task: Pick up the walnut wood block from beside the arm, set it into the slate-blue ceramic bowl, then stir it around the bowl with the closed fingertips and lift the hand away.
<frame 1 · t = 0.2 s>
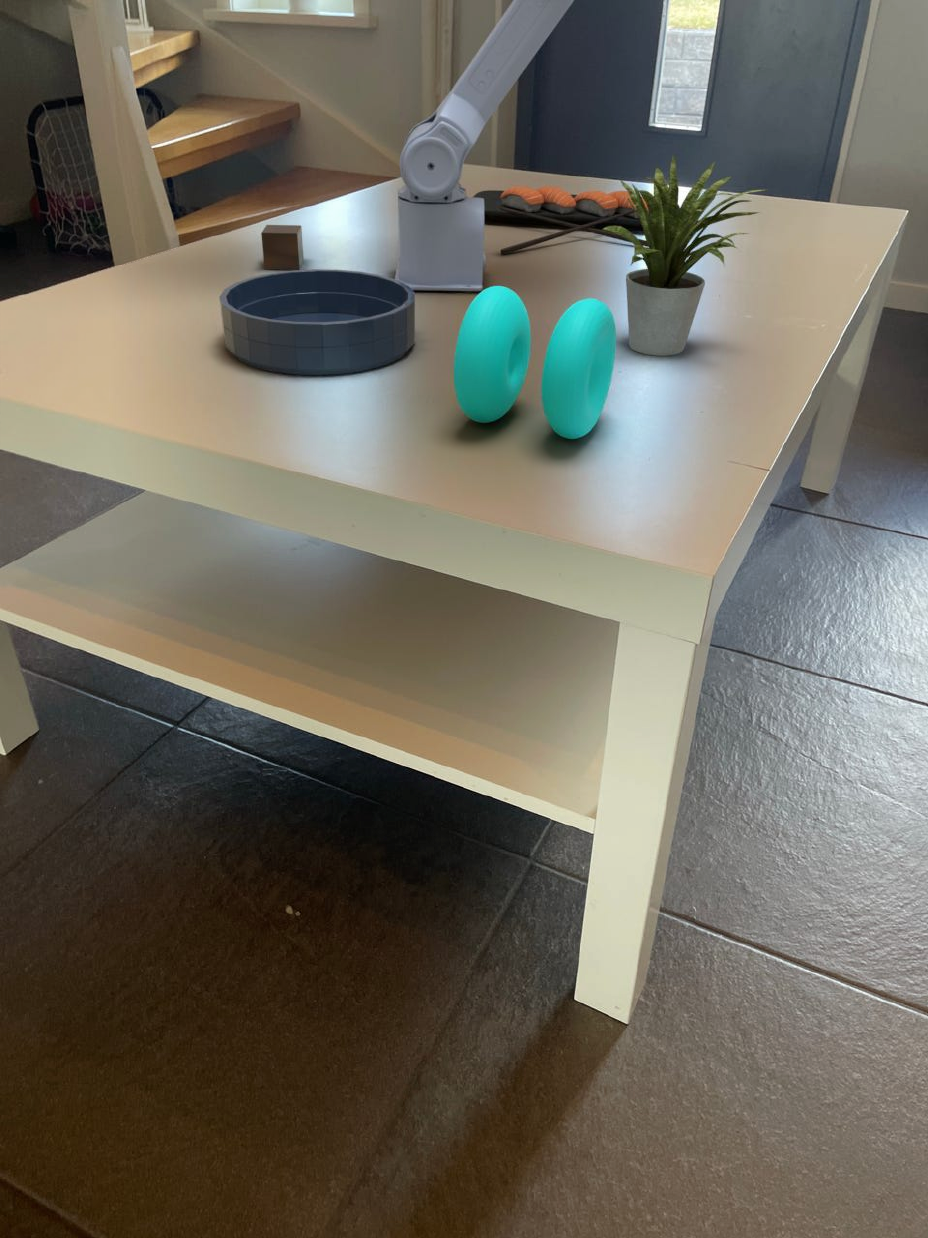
block: (284, 265, 113), on the table
sushi plate: (568, 232, 130), on the table
house plant: (656, 353, 91), on the table
bowl: (321, 343, 90), on the table
donuts: (531, 428, 75), on the table
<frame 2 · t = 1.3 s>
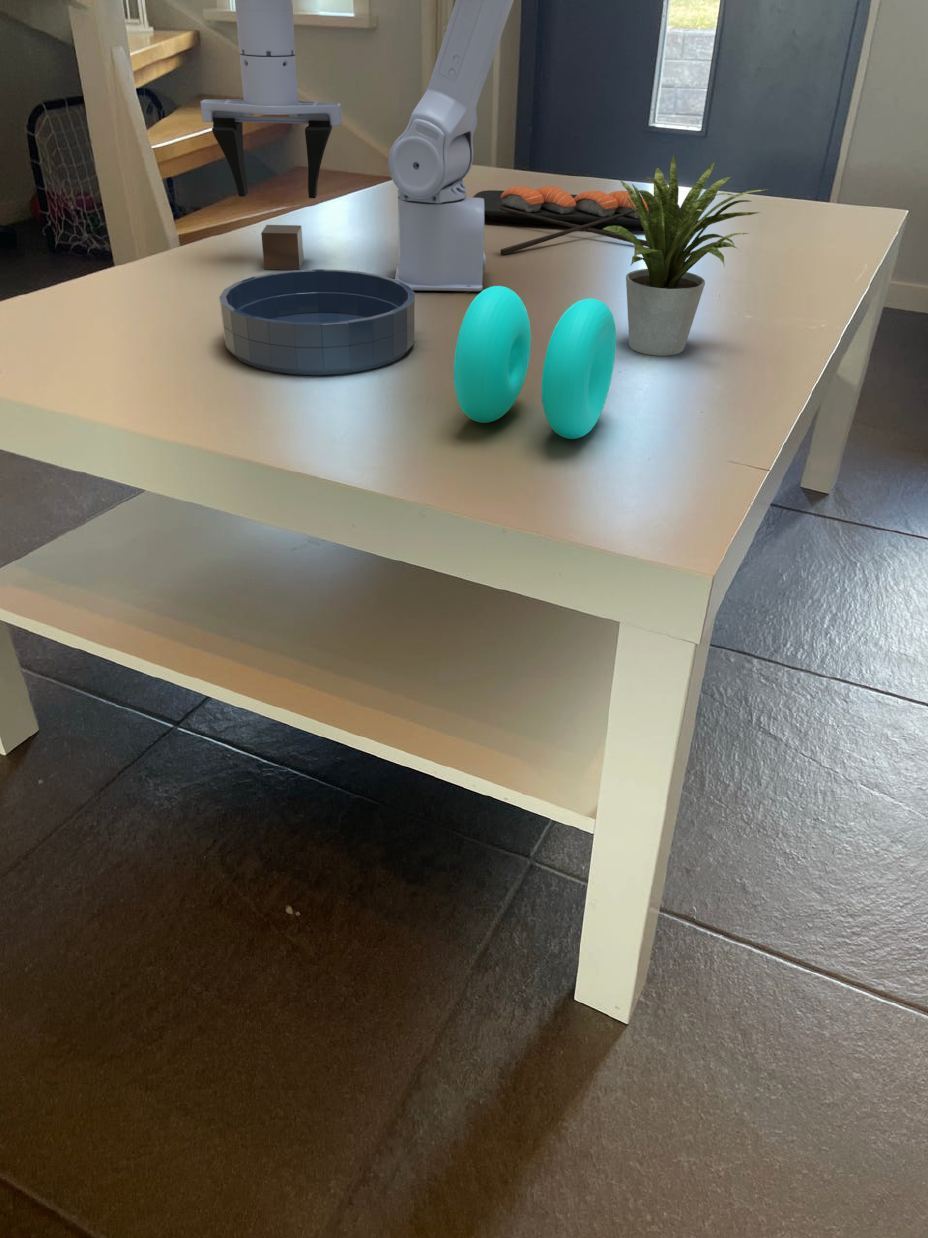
hand: (278, 195, 108), 7 cm above the table, tool pointing down, fingers open, 7 cm apart
nothing on the table moved.
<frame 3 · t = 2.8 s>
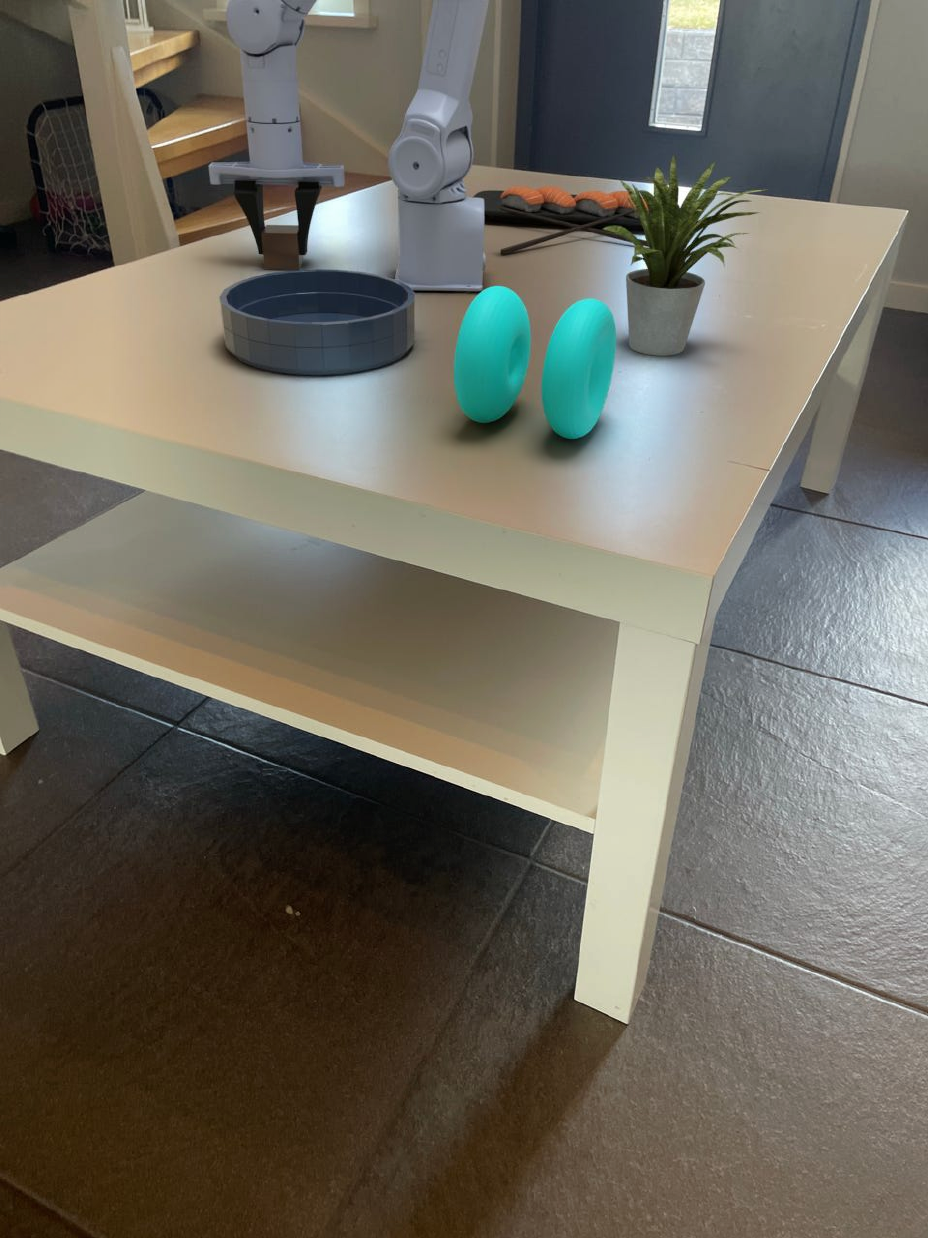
hand: (283, 252, 112), 1 cm above the table, tool pointing down, fingers closed on block, 4 cm apart
block: (284, 265, 113), on the table, touching gripper
everything else where it was.
when the fingers open (2 cm above the table, at t = 7.9 s): block stays where it is, resting on bowl.
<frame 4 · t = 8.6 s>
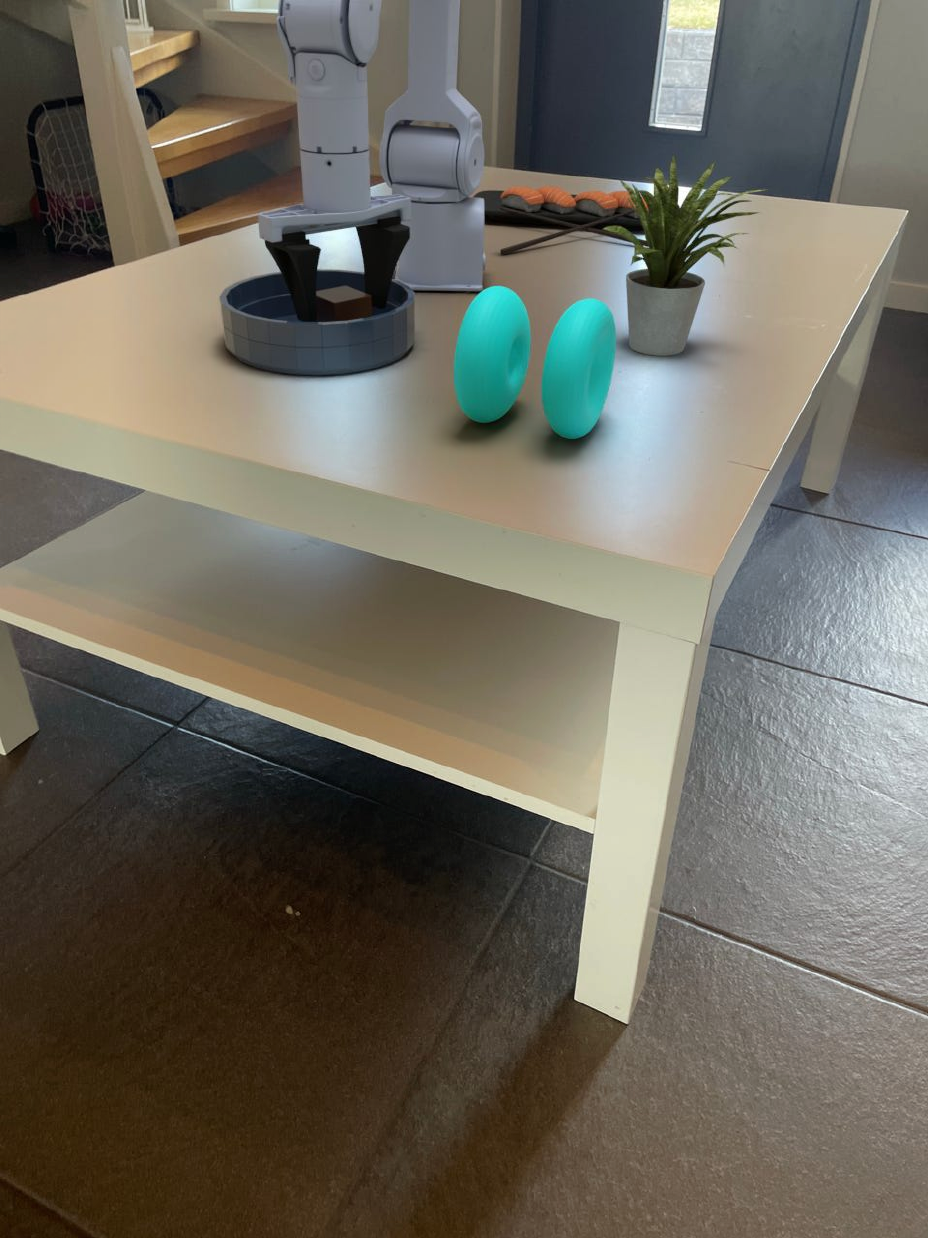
hand: (342, 313, 88), 3 cm above the table, tool pointing down, fingers open, 7 cm apart
block: (342, 337, 90), point 1 cm above the table, touching bowl
everything else where it was.
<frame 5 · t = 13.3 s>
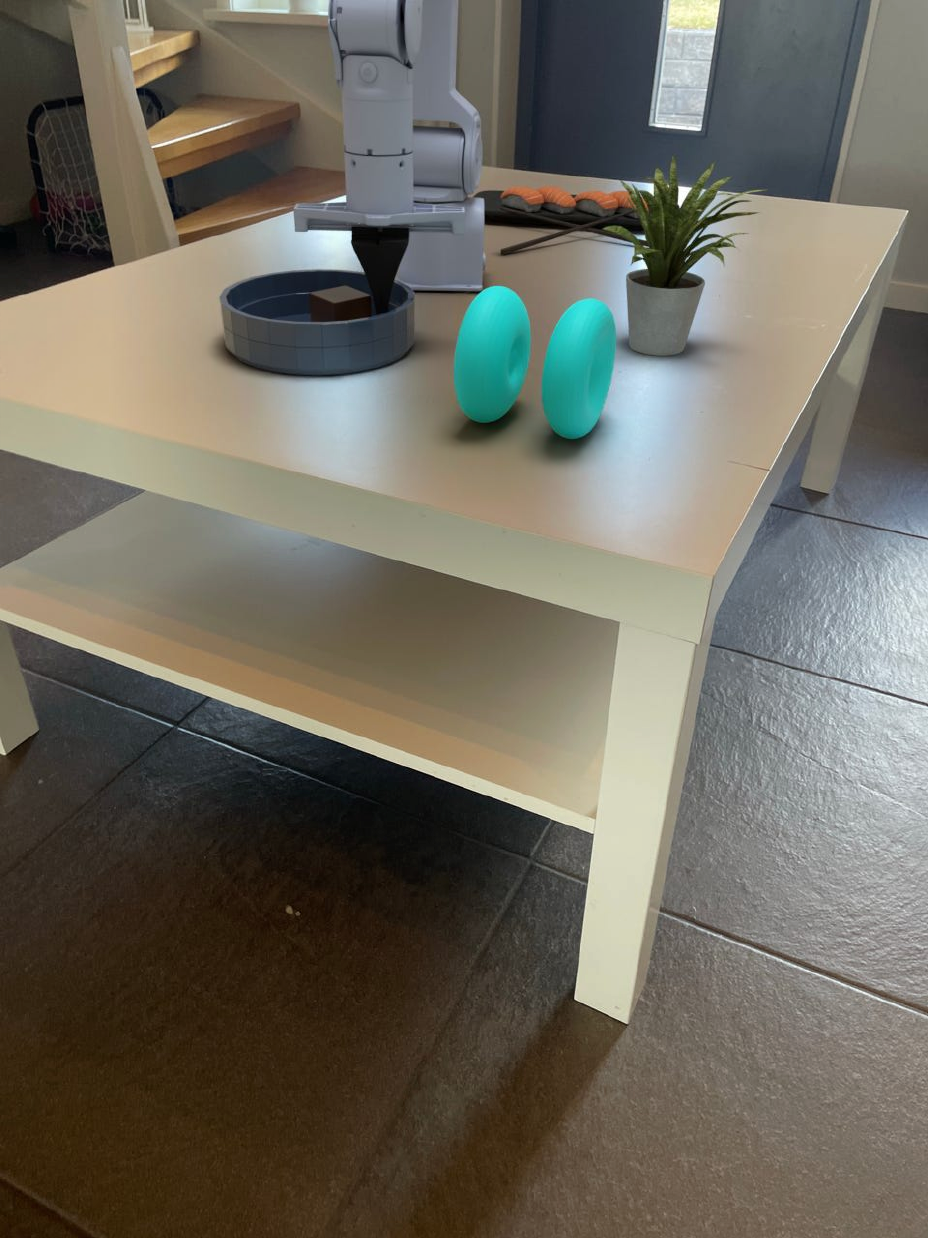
hand: (382, 315, 88), 3 cm above the table, tool pointing down, fingers closed
block: (342, 338, 90), point 1 cm above the table, touching bowl, gripper
everything else where it was.
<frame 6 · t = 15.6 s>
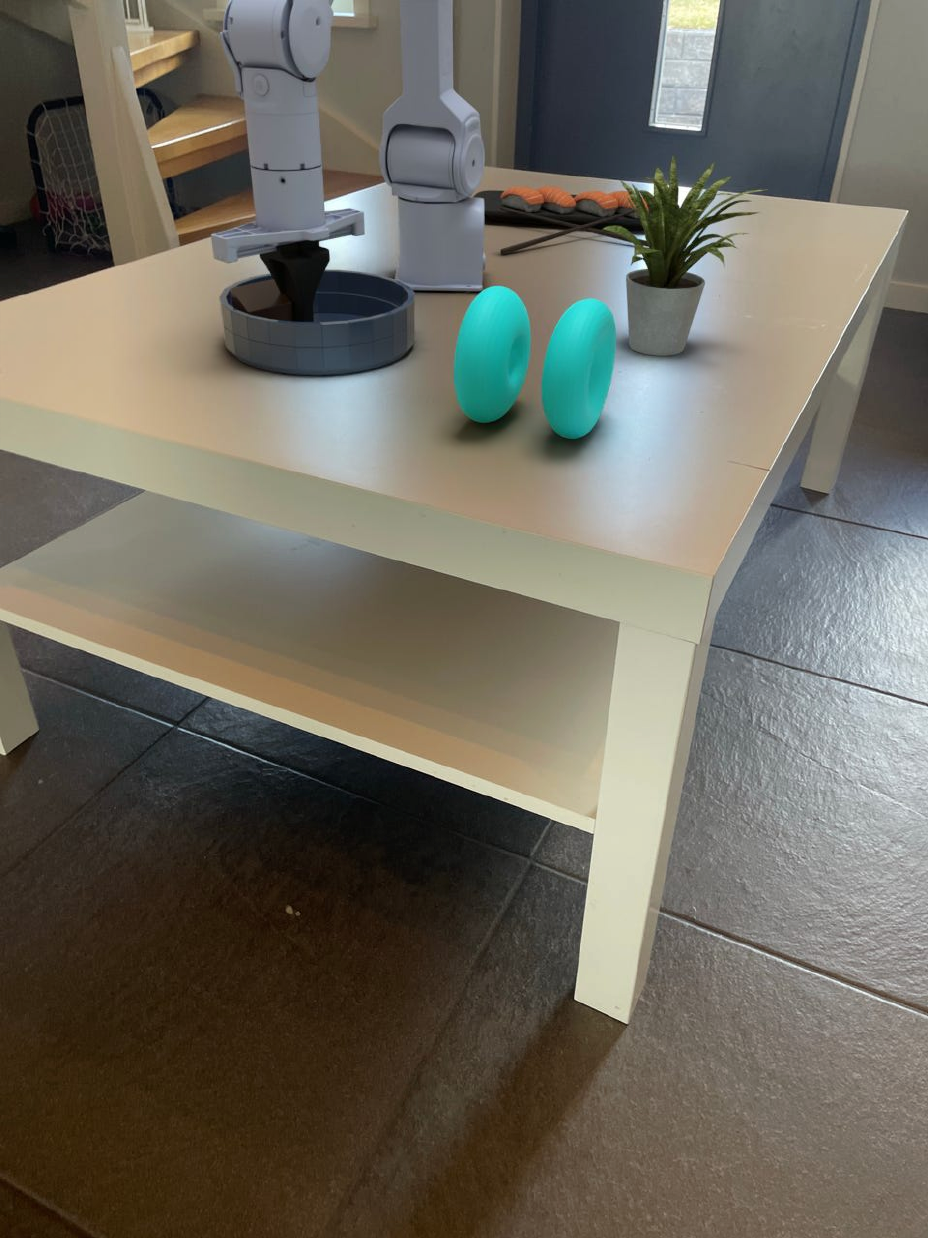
hand: (299, 331, 87), 2 cm above the table, tool pointing down, fingers closed, pressing on block
block: (264, 334, 88), point 1 cm above the table, tilted 17°, touching bowl, gripper
everything else where it was.
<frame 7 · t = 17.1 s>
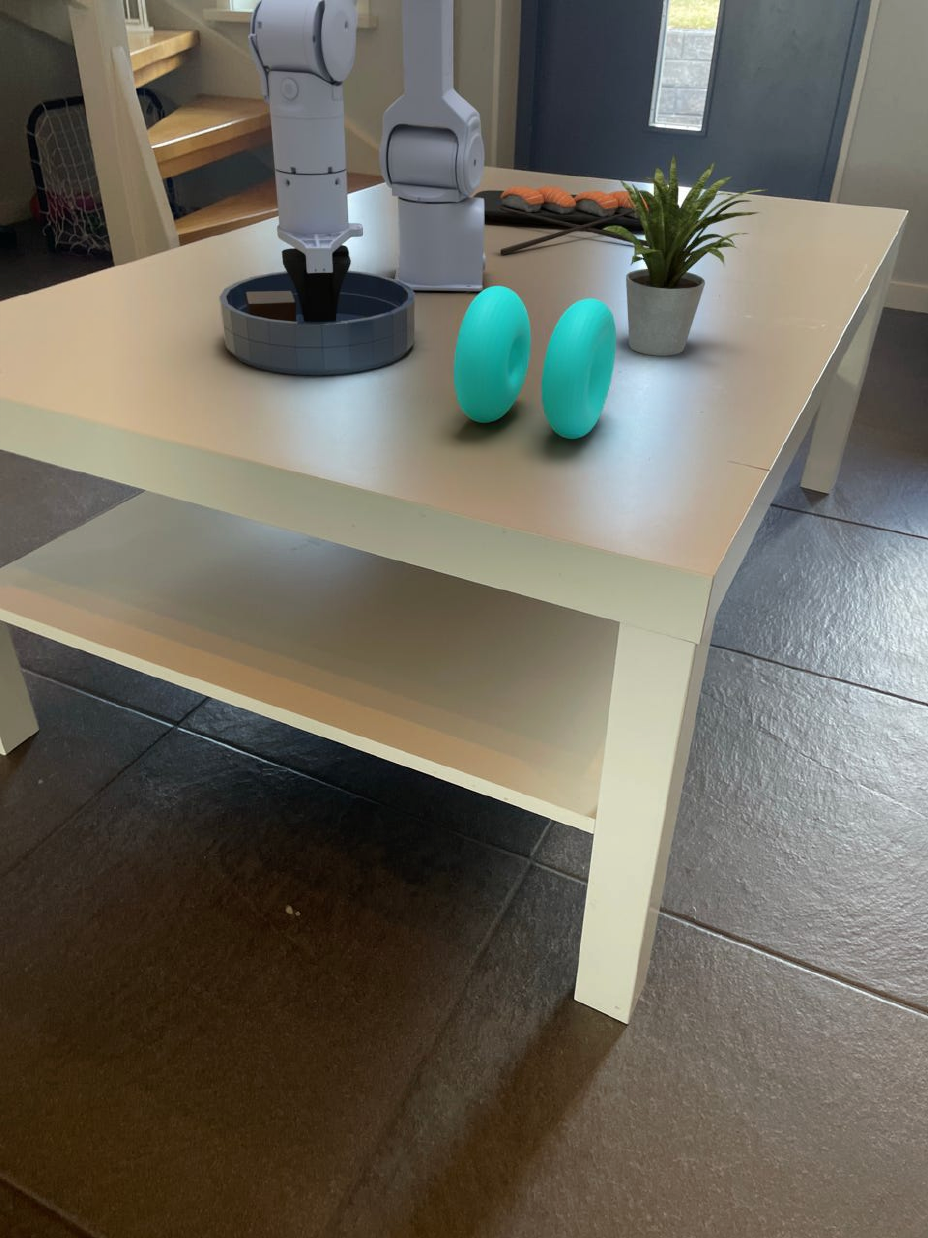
hand: (320, 336, 86), 2 cm above the table, tool pointing down, fingers closed
block: (273, 342, 88), point 1 cm above the table, touching bowl
everything else where it was.
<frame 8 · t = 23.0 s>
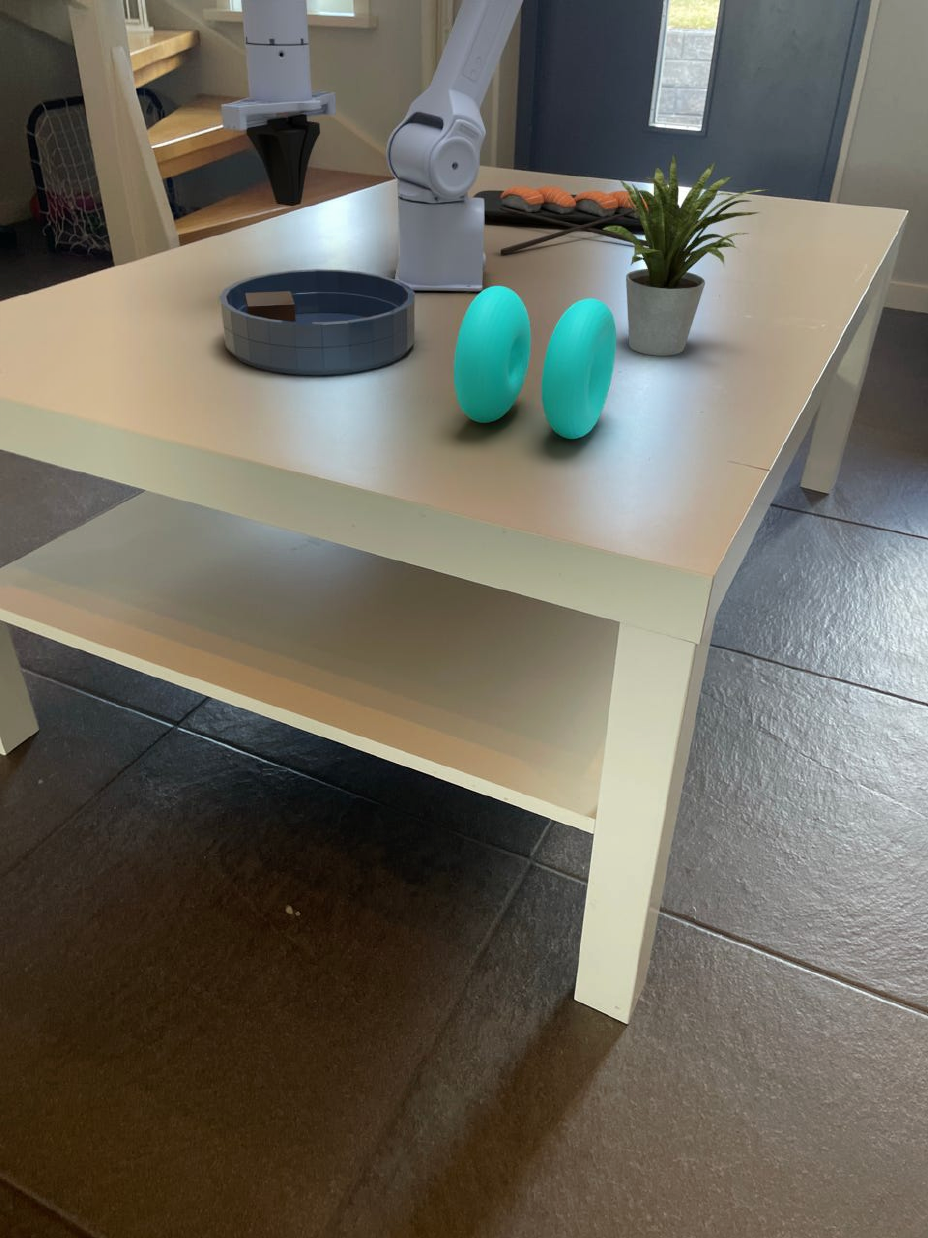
hand: (288, 203, 96), 9 cm above the table, tool pointing down, fingers closed
nothing on the table moved.
at the end: block inside the target area in the bowl (4.5 cm from its centre), point 0.6 cm above the bowl's base; the gripper is holding nothing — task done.
